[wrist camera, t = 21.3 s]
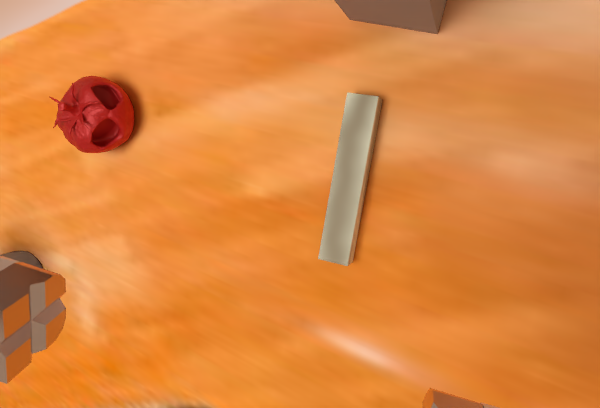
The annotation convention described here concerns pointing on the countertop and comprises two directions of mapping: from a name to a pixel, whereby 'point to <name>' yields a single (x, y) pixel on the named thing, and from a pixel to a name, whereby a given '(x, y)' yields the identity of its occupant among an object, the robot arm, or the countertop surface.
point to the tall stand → (397, 13)
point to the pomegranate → (95, 115)
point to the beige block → (350, 178)
